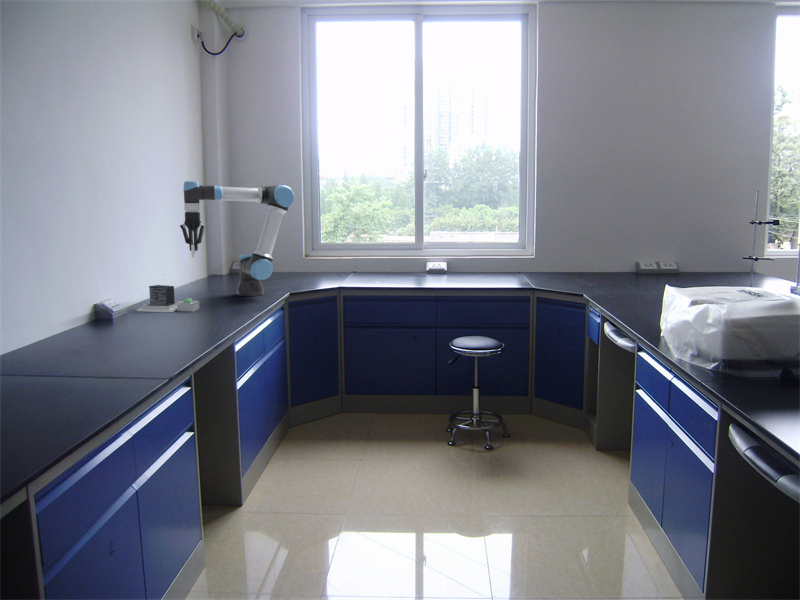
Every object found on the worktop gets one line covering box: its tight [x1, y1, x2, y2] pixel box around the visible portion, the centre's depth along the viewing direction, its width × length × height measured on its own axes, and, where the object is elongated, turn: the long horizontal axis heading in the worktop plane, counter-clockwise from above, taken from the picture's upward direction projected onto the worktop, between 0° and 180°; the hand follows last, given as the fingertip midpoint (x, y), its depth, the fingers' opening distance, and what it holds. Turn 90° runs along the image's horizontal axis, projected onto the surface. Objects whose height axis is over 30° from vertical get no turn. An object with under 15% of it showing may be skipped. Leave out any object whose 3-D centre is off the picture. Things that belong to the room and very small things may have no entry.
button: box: [183, 298, 193, 303], centre depth 310 cm, size 4×4×4 cm
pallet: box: [136, 300, 182, 313], centre depth 313 cm, size 18×18×2 cm
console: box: [177, 299, 200, 313], centre depth 310 cm, size 8×8×4 cm
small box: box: [148, 284, 176, 306], centre depth 312 cm, size 11×6×10 cm, turn 72°
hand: (194, 256), depth 326 cm, fingers closed
